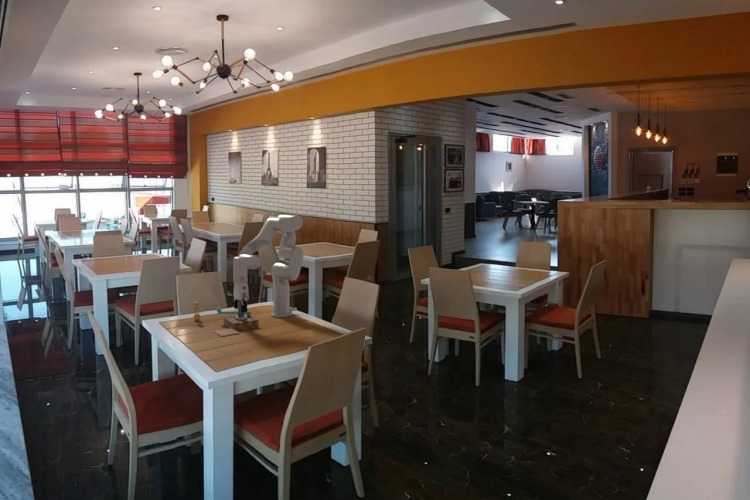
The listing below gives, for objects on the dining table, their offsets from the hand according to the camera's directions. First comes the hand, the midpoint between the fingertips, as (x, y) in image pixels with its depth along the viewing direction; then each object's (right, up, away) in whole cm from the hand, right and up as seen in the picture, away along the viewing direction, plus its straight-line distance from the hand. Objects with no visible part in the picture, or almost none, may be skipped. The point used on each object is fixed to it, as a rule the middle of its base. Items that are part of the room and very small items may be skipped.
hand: (240, 310), depth 313 cm
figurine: (-27, -7, +11) cm, 30 cm away
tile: (-4, -11, -13) cm, 17 cm away
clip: (-5, -2, +6) cm, 8 cm away
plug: (0, -9, +1) cm, 9 cm away
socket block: (0, -9, +1) cm, 9 cm away
